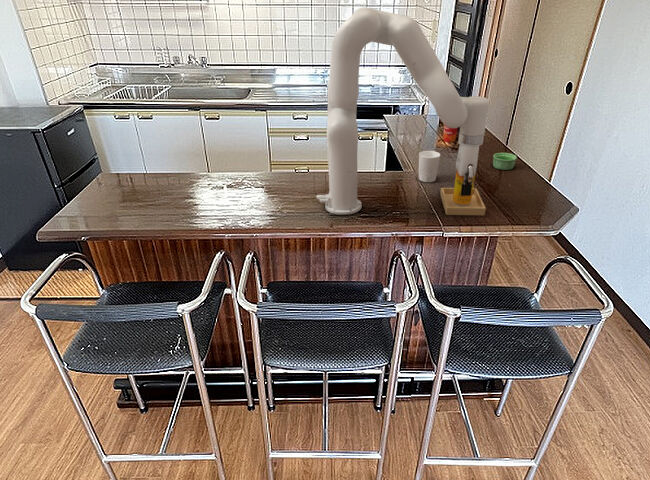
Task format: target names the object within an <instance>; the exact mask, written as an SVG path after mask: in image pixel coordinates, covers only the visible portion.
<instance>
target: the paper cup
mask: <svg viewBox="0 0 650 480" xmlns="http://www.w3.org/2000/svg"><path fill="white" fill-rule="evenodd" d="M458 128H459V127H458ZM458 128H449V127H447V126H446V125H444V124H443V133H442V134H443V137H442V140H443V142H445V143H454V142H456V139H457V133H458Z"/></svg>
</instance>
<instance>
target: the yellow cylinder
mask: <svg viewBox="0 0 650 480" xmlns="http://www.w3.org/2000/svg"><path fill="white" fill-rule="evenodd" d="M458 169H459V162H458V164H457V169H456V173H455V179H454V180H455V181H454V187H453V188H454V194H453V202H454V203H455V204H456V205H459V206H466V205H468V204H469V203H470V202H471V198H472V192H473V188H474V185H475V179H476V174H475V175H474V176H473V183H472V190H471V195H470V196H461V187H462V184H463V176H460V175H459V174H458ZM465 175H468V173H465ZM466 179H468V177H466Z"/></svg>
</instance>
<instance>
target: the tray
mask: <svg viewBox="0 0 650 480" xmlns="http://www.w3.org/2000/svg"><path fill="white" fill-rule="evenodd" d="M453 194H454V187H440V194H439V195H440V198H441V203H442V205H443V208H444V211H445V215H446V216H485V215H486V211H487V208H486V205H485V203H484V202H483V199H482V198H481V195H480V192H479V190H478V189H477V187H473V192H472V198H471V202H470V203H469V204H468V205H466V206H459V205H456V204H455V203H454V202H453Z"/></svg>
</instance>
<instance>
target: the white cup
mask: <svg viewBox="0 0 650 480" xmlns="http://www.w3.org/2000/svg"><path fill="white" fill-rule="evenodd" d="M440 159H441V153H440V152H438V151H435V150H422V151H420V152H419V153H418V180H419V181H420V182H423V183H433V182H435V181H436V180H437V176H438V171H439V167H440V161H441V160H440Z"/></svg>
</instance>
